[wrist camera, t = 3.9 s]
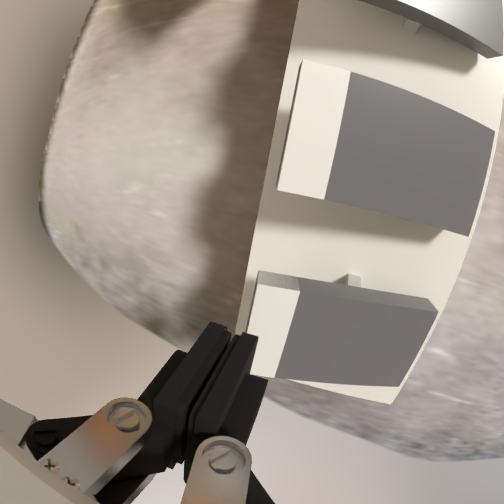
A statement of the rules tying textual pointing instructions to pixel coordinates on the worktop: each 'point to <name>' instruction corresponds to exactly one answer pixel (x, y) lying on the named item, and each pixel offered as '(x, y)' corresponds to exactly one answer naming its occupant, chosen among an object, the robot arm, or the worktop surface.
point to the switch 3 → (335, 331)
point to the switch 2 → (383, 149)
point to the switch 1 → (456, 20)
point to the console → (358, 219)
